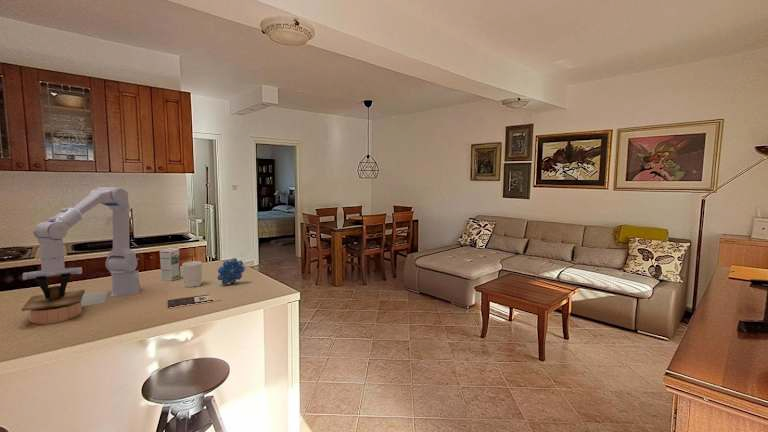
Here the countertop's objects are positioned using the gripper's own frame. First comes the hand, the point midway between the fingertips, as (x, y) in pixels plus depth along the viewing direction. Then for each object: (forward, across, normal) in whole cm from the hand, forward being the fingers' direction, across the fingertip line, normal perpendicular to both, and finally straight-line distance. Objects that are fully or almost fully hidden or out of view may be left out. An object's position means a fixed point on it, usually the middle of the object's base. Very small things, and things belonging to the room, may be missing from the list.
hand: (55, 297), depth 120 cm
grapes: (+7, +58, +10) cm, 59 cm away
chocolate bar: (+8, +41, -7) cm, 42 cm away
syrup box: (+7, +36, +33) cm, 49 cm away
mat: (+7, +4, +16) cm, 18 cm away
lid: (+1, 0, 0) cm, 1 cm away
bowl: (+7, 0, 0) cm, 7 cm away
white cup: (+7, +43, +17) cm, 47 cm away
